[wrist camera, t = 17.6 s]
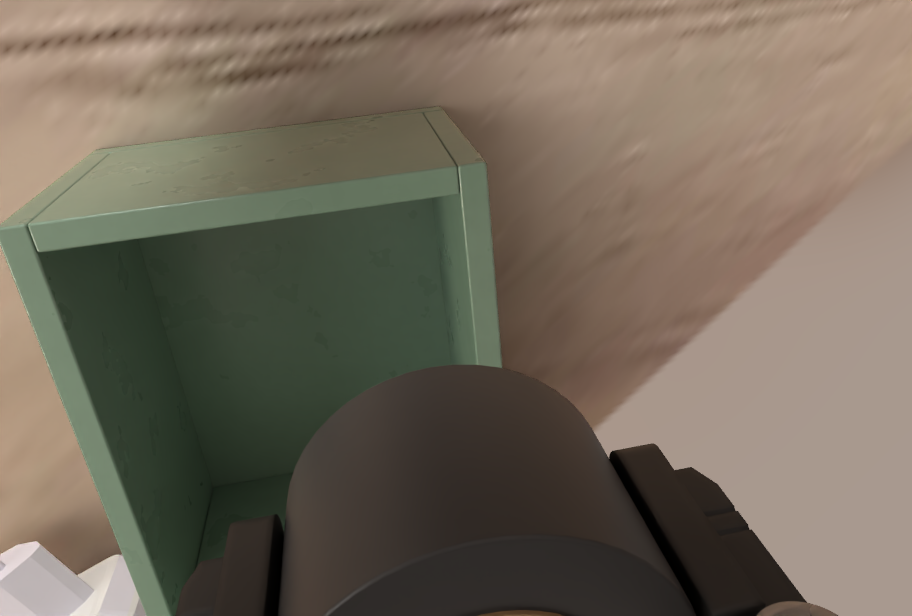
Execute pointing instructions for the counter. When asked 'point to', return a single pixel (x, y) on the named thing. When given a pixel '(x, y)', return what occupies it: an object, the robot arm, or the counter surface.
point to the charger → (64, 586)
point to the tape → (466, 508)
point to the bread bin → (246, 309)
